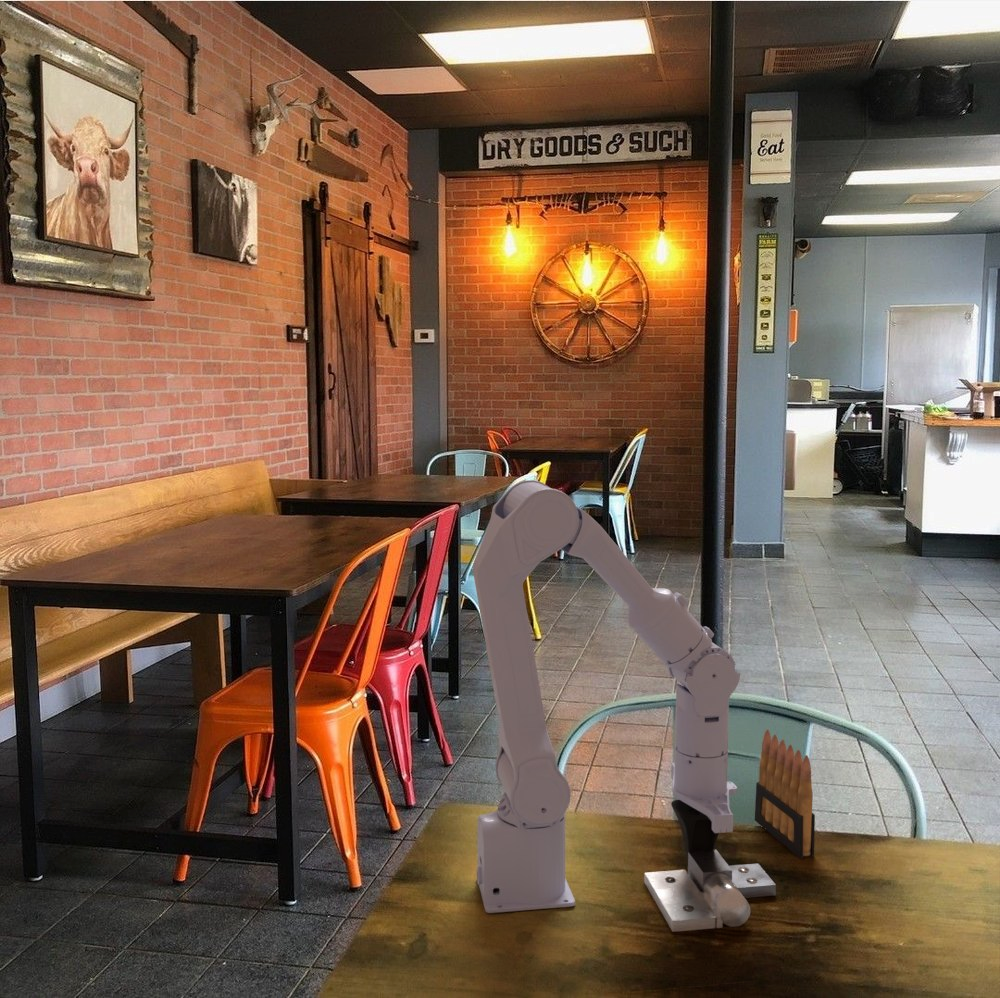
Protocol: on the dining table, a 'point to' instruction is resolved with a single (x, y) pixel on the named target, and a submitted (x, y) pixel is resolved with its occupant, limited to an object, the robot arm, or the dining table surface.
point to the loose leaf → (730, 873)
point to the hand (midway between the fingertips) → (698, 866)
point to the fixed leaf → (697, 900)
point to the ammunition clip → (785, 796)
